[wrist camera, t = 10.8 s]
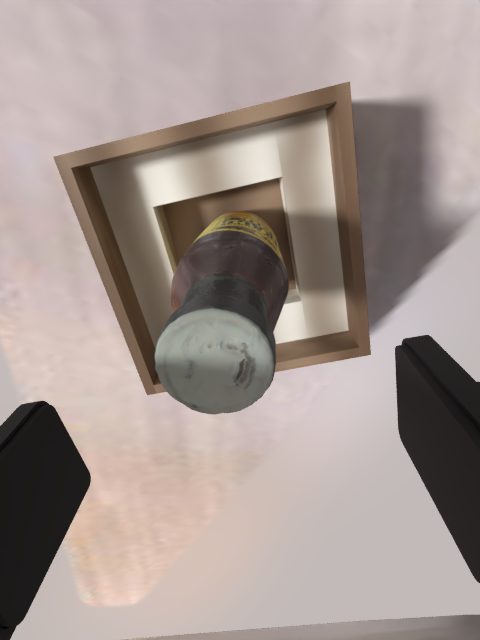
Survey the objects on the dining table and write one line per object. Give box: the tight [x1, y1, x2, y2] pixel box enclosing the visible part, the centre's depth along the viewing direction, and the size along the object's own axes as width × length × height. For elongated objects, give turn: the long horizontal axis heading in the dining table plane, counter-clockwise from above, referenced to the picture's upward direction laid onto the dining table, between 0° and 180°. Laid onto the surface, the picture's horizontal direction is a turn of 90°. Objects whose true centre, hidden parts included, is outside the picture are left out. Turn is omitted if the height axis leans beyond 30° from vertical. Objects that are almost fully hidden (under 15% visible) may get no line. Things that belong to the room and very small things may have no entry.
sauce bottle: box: [154, 211, 289, 414], centre depth 20 cm, size 6×6×20 cm
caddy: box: [54, 82, 371, 395], centre depth 27 cm, size 18×18×7 cm
